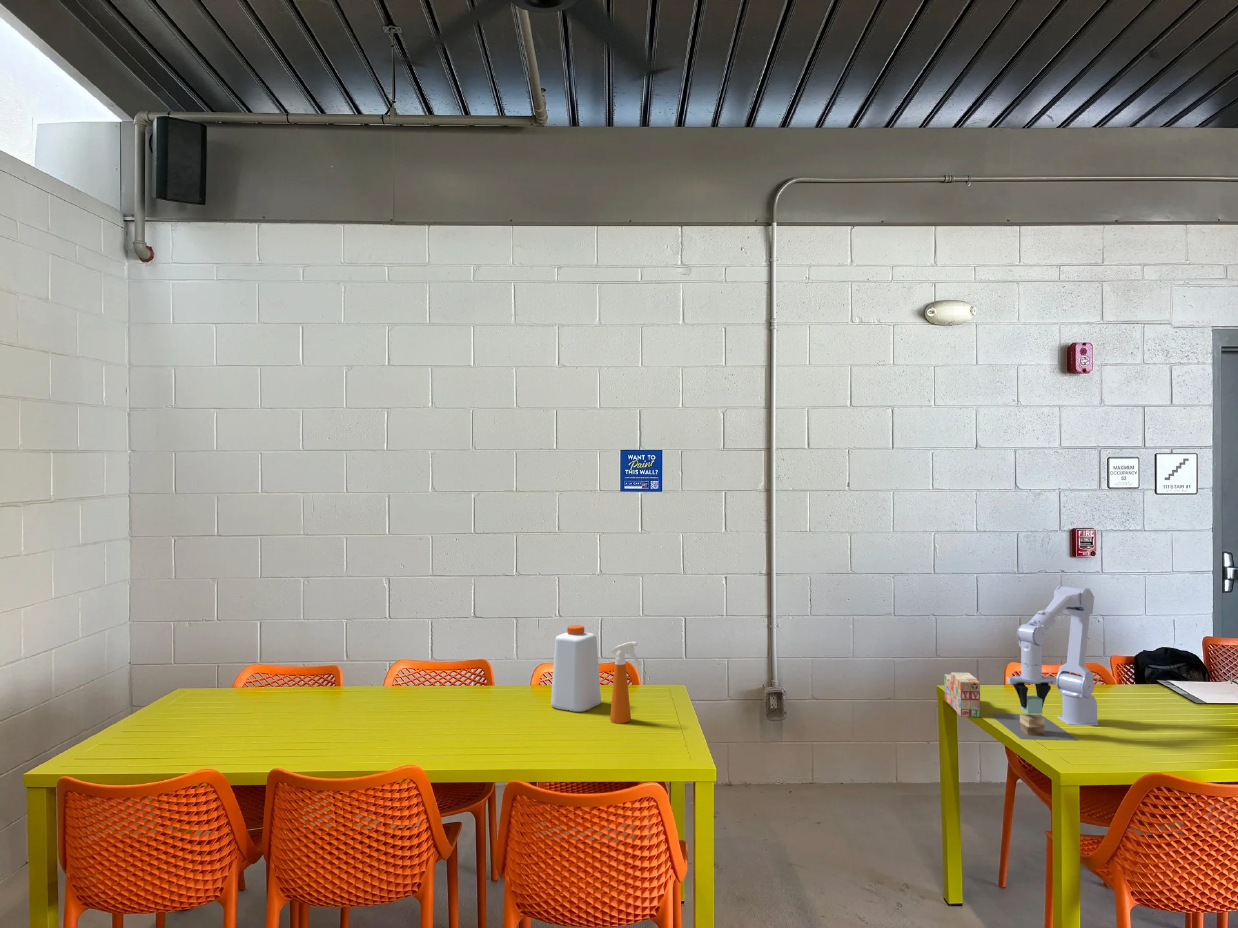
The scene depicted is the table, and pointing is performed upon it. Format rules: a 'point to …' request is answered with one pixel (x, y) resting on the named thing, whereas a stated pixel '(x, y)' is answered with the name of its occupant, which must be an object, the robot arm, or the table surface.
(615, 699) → the spray bottle
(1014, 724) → the rubber mat
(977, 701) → the stack of blocks
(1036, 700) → the teal cube
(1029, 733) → the walnut slab
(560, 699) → the plastic bottle
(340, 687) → the table surface
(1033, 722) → the oak slab
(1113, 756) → the table surface
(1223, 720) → the table surface
